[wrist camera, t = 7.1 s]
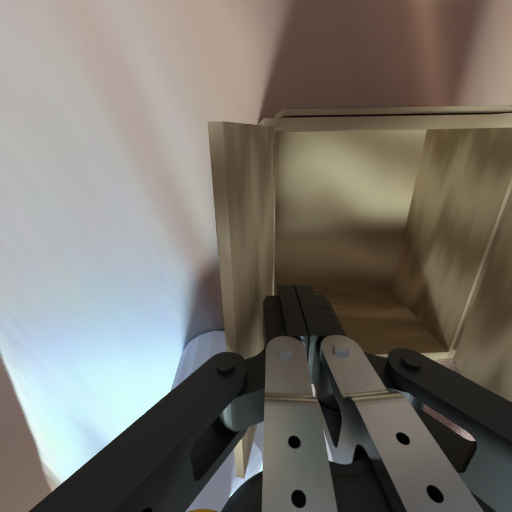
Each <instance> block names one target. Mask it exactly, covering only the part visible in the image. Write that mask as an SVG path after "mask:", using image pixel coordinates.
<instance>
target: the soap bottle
mask: <svg viewBox="0 0 512 512" xmlns="http://www.w3.org/2000/svg"><path fill="white" fill-rule="evenodd" d="M221 352H226V343H225V331H211V332H207V333H204V334H200V335H199V336H197V337H196V338H194V339H193V340H192V341H190V342H189V343H188V345H187V346H186V348H185V349H184V350H183V352H182V355H181V358H180V362H179V365H178V368H177V372H176V375H175V378H174V382H173V385H172V388H171V391H172V390H173V389H174V388H175V387H177V386H178V385H179V384H180V383H181V382H182V381H184V380H185V379H186V378H187V377H188V376H190V375H191V374H192V373H193V372H194V371H195V370H197V369H198V368H199V367H200V366H201V365H203V364H204V363H205V362H206V361H207V360H208V359H210V358H211V357H212V356H214V355H216V354H218V353H221ZM263 441H264V421H263V422H261V423H258V424H257V428H256V432H255V437H254V441H253V445H252V449H251V453H250V457H249V461H248V465H247V469H246V474H245V478H244V479H243V478H239V477H236V468H235V456H234V449H233V451H232V452H231V453H230V455H229V456H228V457H227V458H226V460H225V461H224V462H223V464H222V465H221V466H220V468H219V469H218V470H217V471H216V473H215V474H214V475H213V477H212V478H211V479H210V481H209V482H208V483H207V484H206V486H205V487H204V488H203V490H202V491H201V492H200V494H199V495H198V496H197V497H196V499H195V500H194V501H193V503H192V504H191V505H190V507H189V508H188V509H187V510H186V512H221V510H222V509H223V507H224V506H225V504H226V503H227V501H228V500H229V496H230V494H231V493H233V492H235V491H236V490H237V489H238V488H239V487H240V486H241V485H242V484H243V483H244V482H245V481H247V480H248V479H249V478H251V477H252V476H254V475H256V474H257V473H258V472H259V470H260V467H261V464H262V461H263Z"/></svg>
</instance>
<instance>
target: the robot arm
mask: <svg viewBox="0 0 512 512" xmlns="http://www.w3.org/2000/svg"><path fill="white" fill-rule="evenodd" d="M263 341H264V349H263V350H262V351H261V352H260V353H259V354H257V355H256V356H253V357H251V358H247V359H244V358H243V357H242V356H241V355H239V354H237V353H234V352H221V353H218V354H216V355H214V356H212V357H211V358H210V359H208V360H207V361H206V362H205V363H204V364H203V365H201V366H200V367H199V368H198V369H197V370H195V371H194V372H193V373H192V374H191V375H190V376H188V377H187V378H186V379H185V380H184V381H182V382H181V383H180V384H179V385H178V386H177V387H175V388H174V389H173V390H172V391H171V392H169V393H168V394H167V395H166V396H165V397H164V398H162V399H161V400H160V401H159V402H158V403H156V404H155V405H154V406H153V407H152V408H151V409H149V410H148V411H147V412H146V413H145V414H144V415H142V416H141V417H140V418H139V419H138V420H136V421H135V422H134V423H133V424H132V425H131V426H129V427H128V428H127V429H126V430H125V431H123V432H122V433H121V434H120V435H119V436H118V437H116V438H115V439H114V440H113V441H112V442H110V443H109V444H108V445H107V446H106V447H105V448H103V449H102V450H101V451H100V452H99V453H97V454H96V455H95V456H94V457H93V458H92V459H90V460H89V461H88V462H87V463H86V464H84V465H83V466H82V467H81V468H80V469H79V470H77V471H76V472H75V473H74V474H73V475H71V476H70V477H69V478H68V479H67V480H66V481H64V482H63V483H62V484H61V485H60V486H58V487H57V488H56V489H55V490H54V491H53V492H51V493H50V494H49V495H48V496H47V497H45V498H44V499H43V500H42V501H41V502H40V503H38V504H37V505H36V506H35V507H34V508H33V509H31V510H30V511H29V512H186V510H187V509H188V508H189V507H190V505H191V504H192V503H193V501H194V500H195V499H196V497H197V496H198V495H199V494H200V492H201V491H202V490H203V488H204V487H205V486H206V484H207V483H208V482H209V481H210V479H211V478H212V477H213V475H214V474H215V473H216V471H217V470H218V469H219V468H220V466H221V465H222V464H223V462H224V461H225V460H226V458H227V457H228V456H229V455H230V453H231V452H232V451H233V449H234V448H235V447H236V445H237V444H238V443H239V441H240V440H241V439H242V438H243V436H244V435H245V433H246V432H247V429H248V427H250V426H253V425H256V424H258V423H261V422H263V421H264V441H263V471H261V472H259V473H257V474H256V475H254V476H252V477H251V478H249V479H248V480H247V481H245V482H244V483H243V484H242V485H241V486H240V487H239V488H238V489H237V490H236V491H235V492H234V493H233V495H232V496H231V497H230V498H229V500H228V501H227V503H226V504H225V506H224V507H223V509H222V510H221V512H512V402H510V401H509V400H507V399H505V398H503V397H501V396H499V395H497V394H495V393H493V392H492V391H490V390H488V389H486V388H484V387H482V386H480V385H478V384H477V383H475V382H473V381H471V380H469V379H467V378H465V377H463V376H462V375H460V374H458V373H456V372H454V371H452V370H450V369H448V368H447V367H445V366H443V365H441V364H439V363H437V362H435V361H433V360H432V359H430V358H428V357H426V356H424V355H422V354H420V353H418V352H416V351H413V350H410V349H406V348H397V349H393V350H391V351H390V352H389V354H388V357H382V356H377V355H373V354H369V353H366V352H363V351H362V349H361V348H360V346H359V345H358V344H357V343H356V342H355V341H354V340H352V339H350V338H348V337H347V336H346V334H345V332H344V330H343V328H342V326H341V324H340V322H339V320H338V317H337V316H336V313H335V311H334V310H333V307H332V305H331V303H330V301H329V300H328V299H327V298H325V297H324V296H323V295H322V294H319V295H314V293H313V290H312V288H311V285H310V284H294V285H293V284H289V285H277V295H273V296H266V298H265V299H264V301H263ZM311 384H314V387H315V397H313V392H312V386H311ZM424 404H426V405H427V406H429V407H430V408H432V409H434V410H435V411H437V412H438V413H440V414H441V415H443V416H444V417H446V418H447V419H449V420H451V421H452V422H454V423H455V424H457V425H458V426H460V427H461V428H463V429H464V430H466V431H467V432H468V433H470V434H471V435H472V436H473V438H474V439H475V440H476V441H469V440H467V439H465V438H463V437H462V436H460V435H459V434H457V433H456V432H454V431H453V430H451V429H450V428H448V427H447V426H445V425H444V424H442V423H441V422H439V421H438V420H436V419H435V418H433V417H432V416H430V415H429V414H427V413H426V412H424V411H423V407H424ZM323 429H324V431H323ZM324 432H325V436H326V439H327V442H328V445H329V448H330V451H331V454H332V459H333V462H331V461H329V460H328V454H327V448H326V443H325V437H324Z"/></svg>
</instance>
